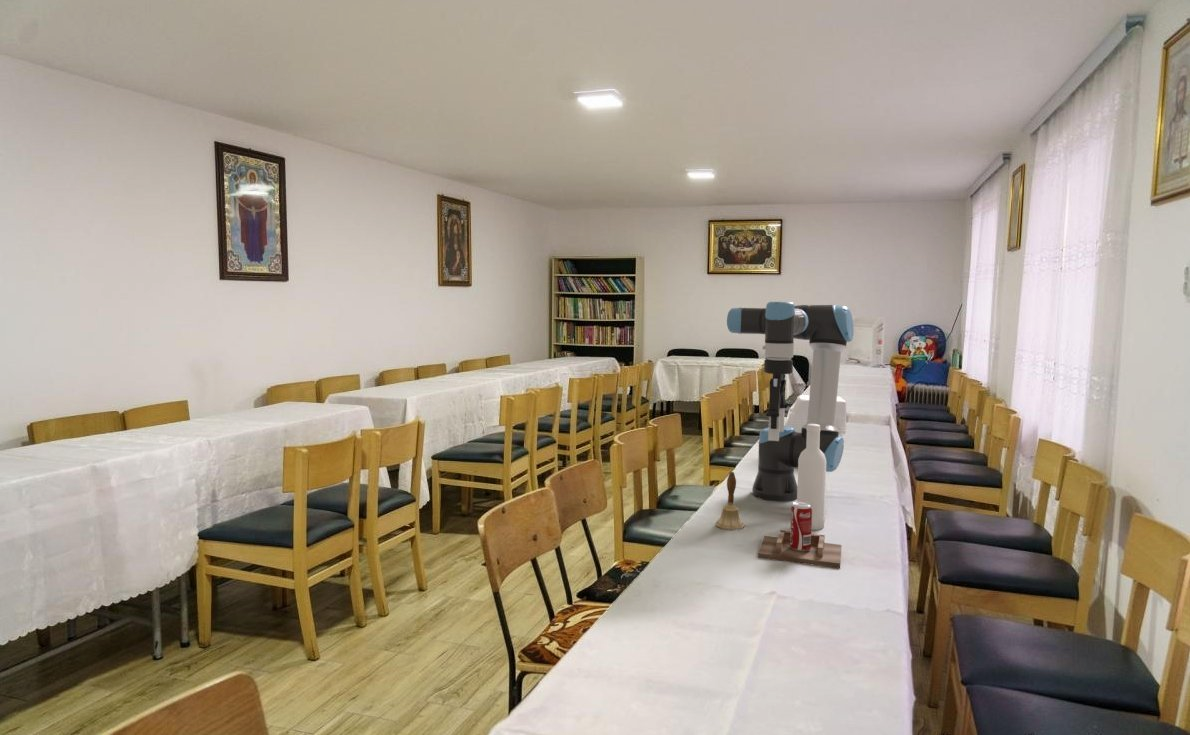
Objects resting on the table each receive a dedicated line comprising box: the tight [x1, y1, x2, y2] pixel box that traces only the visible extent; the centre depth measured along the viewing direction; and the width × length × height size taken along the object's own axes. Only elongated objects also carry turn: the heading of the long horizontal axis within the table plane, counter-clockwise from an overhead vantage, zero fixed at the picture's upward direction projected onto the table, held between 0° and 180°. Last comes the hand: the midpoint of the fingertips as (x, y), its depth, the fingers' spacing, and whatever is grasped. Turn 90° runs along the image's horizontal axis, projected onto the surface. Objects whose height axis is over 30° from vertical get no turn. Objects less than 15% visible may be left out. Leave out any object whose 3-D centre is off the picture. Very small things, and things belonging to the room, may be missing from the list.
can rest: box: [757, 529, 842, 569], centre depth 183 cm, size 14×20×4 cm
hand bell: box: [715, 471, 745, 531], centre depth 204 cm, size 8×8×16 cm
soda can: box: [789, 501, 812, 552], centre depth 182 cm, size 5×5×12 cm
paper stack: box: [784, 394, 848, 438], centre depth 289 cm, size 21×27×26 cm
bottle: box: [796, 424, 827, 531], centre depth 204 cm, size 8×8×30 cm
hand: (776, 435), depth 192 cm, fingers open, 13 cm apart
